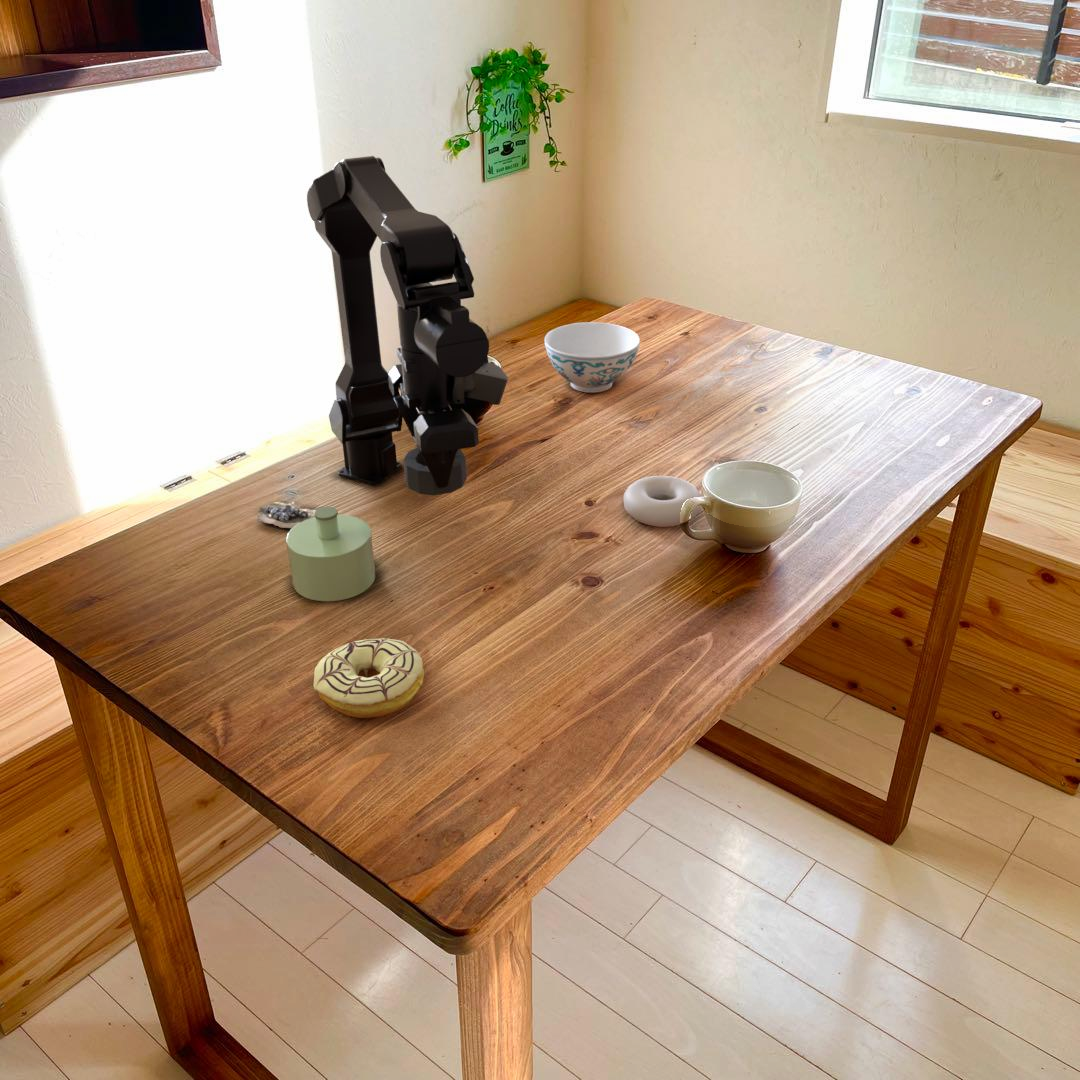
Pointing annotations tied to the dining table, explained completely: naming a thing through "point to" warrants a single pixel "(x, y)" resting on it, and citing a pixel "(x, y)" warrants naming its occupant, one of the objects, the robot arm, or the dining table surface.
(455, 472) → the rubber ring
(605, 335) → the chinaware
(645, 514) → the donut
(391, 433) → the robot arm
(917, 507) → the dining table surface
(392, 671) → the decorated donut
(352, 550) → the green cylinder with peg
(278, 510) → the blueberry tart
